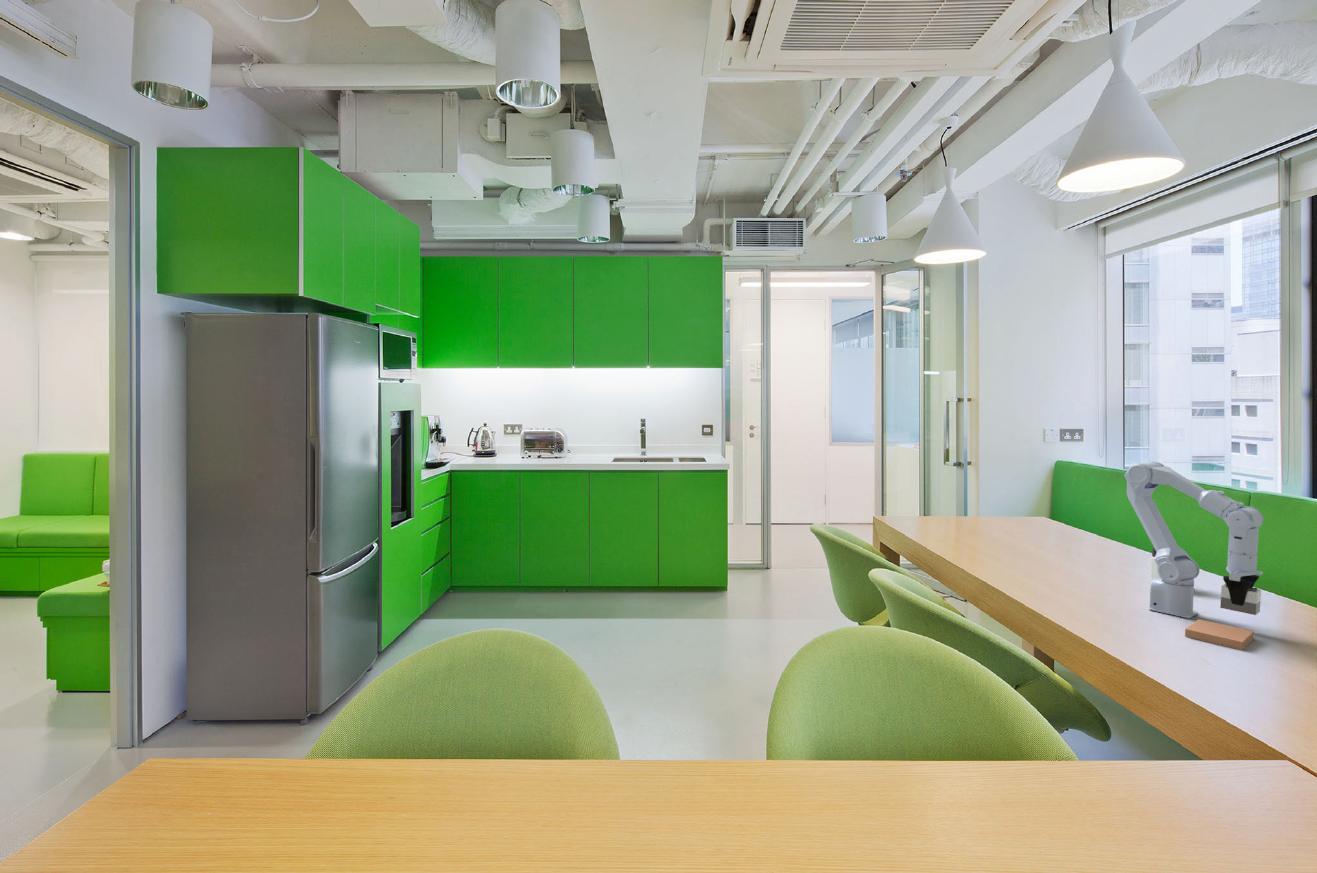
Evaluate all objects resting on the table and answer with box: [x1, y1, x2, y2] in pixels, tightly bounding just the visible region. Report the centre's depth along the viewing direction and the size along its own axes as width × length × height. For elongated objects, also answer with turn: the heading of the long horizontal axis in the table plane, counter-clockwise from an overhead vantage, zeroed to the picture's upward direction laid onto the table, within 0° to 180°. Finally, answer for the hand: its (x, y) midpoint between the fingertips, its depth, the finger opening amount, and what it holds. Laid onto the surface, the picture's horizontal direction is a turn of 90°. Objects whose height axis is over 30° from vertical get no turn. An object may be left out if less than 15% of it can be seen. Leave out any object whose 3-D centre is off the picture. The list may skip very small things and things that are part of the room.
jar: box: [1149, 547, 1161, 585], centre depth 204 cm, size 9×8×12 cm
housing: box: [1219, 582, 1262, 616], centre depth 166 cm, size 7×4×6 cm, turn 36°
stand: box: [1184, 618, 1255, 651], centre depth 160 cm, size 11×12×2 cm
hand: (1239, 602), depth 166 cm, fingers closed on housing, 4 cm apart
